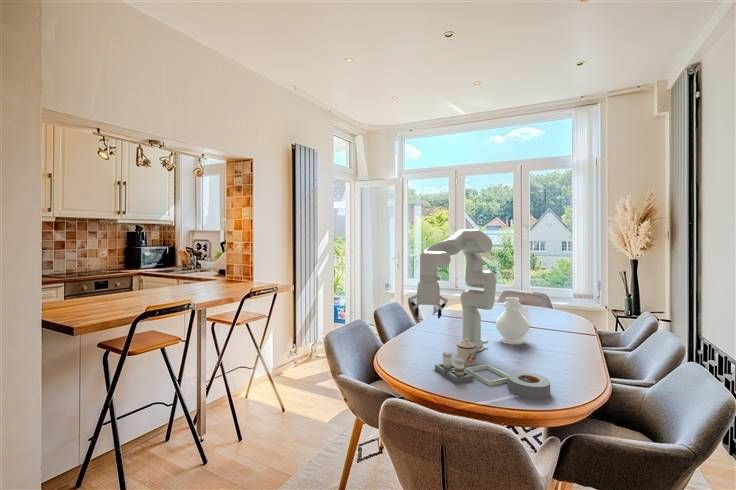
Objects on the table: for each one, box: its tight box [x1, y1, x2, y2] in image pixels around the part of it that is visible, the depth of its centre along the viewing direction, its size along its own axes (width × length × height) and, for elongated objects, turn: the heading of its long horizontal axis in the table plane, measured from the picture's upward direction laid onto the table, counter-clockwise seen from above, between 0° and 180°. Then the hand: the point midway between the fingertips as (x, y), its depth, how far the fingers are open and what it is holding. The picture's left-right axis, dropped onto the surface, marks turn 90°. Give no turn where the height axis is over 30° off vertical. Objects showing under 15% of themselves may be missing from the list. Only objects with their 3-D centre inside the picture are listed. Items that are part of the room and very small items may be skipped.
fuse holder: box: [432, 362, 476, 386], centre depth 155 cm, size 18×10×3 cm, turn 22°
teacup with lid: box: [456, 339, 477, 366], centre depth 173 cm, size 12×9×12 cm
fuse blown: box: [454, 357, 465, 377], centre depth 151 cm, size 4×4×8 cm
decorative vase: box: [495, 296, 530, 345], centre depth 207 cm, size 18×18×25 cm
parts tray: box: [464, 363, 509, 387], centre depth 154 cm, size 12×16×2 cm
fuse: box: [442, 351, 453, 369], centre depth 160 cm, size 4×4×8 cm
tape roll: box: [507, 371, 551, 401], centre depth 141 cm, size 15×15×5 cm
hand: (428, 317), depth 162 cm, fingers open, 9 cm apart
